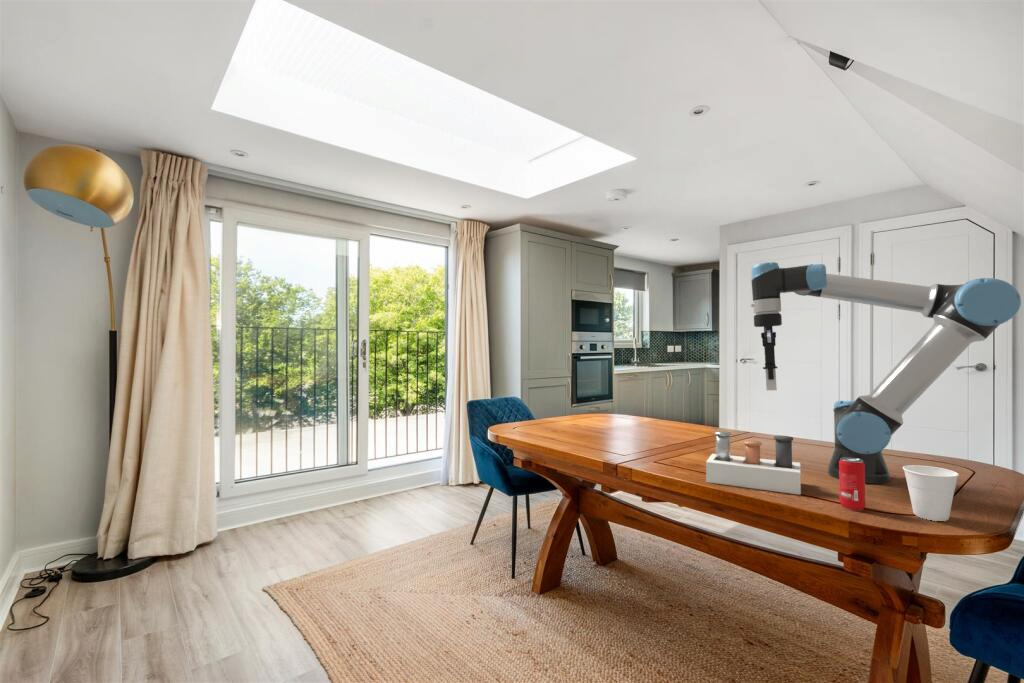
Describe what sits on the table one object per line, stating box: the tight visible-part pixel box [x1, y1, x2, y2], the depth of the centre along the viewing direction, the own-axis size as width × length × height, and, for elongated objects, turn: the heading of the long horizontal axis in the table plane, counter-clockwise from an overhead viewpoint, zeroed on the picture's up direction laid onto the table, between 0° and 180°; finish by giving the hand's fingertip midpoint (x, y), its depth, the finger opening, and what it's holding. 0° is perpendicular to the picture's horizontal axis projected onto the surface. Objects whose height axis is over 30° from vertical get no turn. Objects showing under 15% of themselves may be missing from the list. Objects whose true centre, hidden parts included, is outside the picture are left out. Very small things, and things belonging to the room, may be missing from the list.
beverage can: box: [838, 457, 866, 512], centre depth 117 cm, size 5×5×12 cm
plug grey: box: [713, 430, 733, 462], centre depth 142 cm, size 5×5×10 cm
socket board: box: [705, 453, 802, 496], centre depth 138 cm, size 24×12×6 cm, turn 58°
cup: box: [902, 464, 960, 522], centre depth 110 cm, size 10×10×11 cm
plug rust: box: [742, 439, 762, 465], centre depth 138 cm, size 5×5×10 cm
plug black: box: [773, 435, 794, 469], centre depth 134 cm, size 5×5×10 cm
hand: (771, 390), depth 143 cm, fingers closed
